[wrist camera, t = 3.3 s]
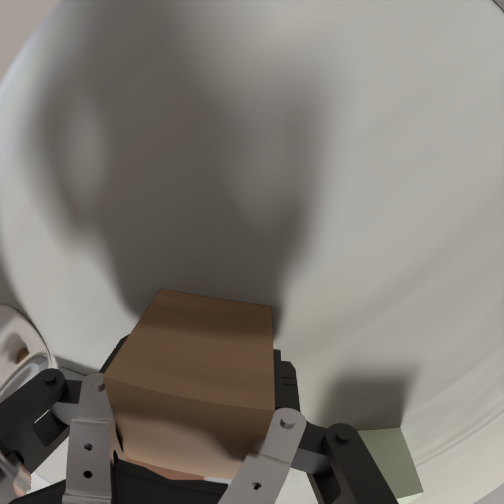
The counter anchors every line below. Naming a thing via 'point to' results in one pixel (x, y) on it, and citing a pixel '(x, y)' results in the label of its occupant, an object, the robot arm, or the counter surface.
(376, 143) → the counter surface
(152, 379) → the block
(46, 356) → the beer glass
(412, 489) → the block
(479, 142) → the counter surface
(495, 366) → the counter surface
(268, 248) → the counter surface
